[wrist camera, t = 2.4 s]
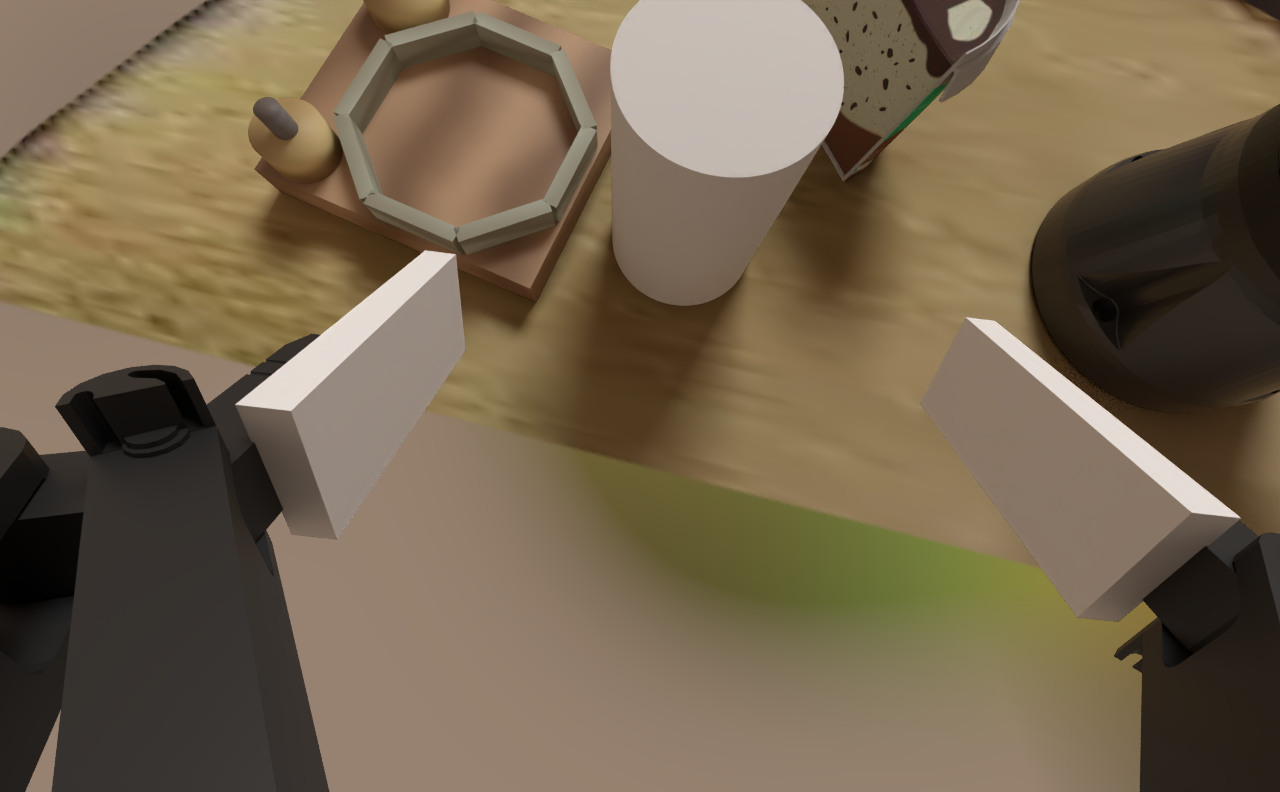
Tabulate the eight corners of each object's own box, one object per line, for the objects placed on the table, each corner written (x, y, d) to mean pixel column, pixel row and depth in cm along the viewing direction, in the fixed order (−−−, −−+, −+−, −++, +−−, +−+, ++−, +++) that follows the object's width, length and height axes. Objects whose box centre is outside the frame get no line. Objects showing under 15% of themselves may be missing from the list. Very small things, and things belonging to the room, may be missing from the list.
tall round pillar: (773, 214, 29) (879, 34, 18) (713, 330, 28) (785, 218, 16) (652, 153, 30) (676, -64, 18) (587, 264, 28) (567, 108, 16)
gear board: (642, 91, 30) (647, 11, 25) (536, 302, 28) (518, 261, 23) (406, -8, 31) (365, -106, 26) (279, 191, 28) (204, 125, 23)
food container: (939, 166, 31) (1093, 15, 21) (855, 202, 30) (973, 64, 20) (842, 9, 32) (943, -199, 22) (760, 40, 32) (826, -161, 22)
